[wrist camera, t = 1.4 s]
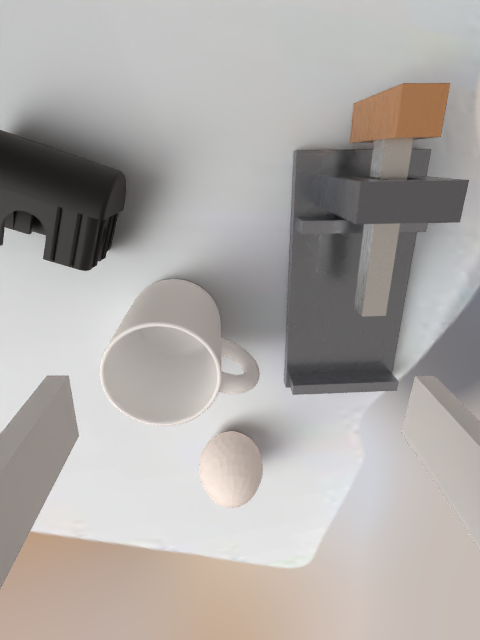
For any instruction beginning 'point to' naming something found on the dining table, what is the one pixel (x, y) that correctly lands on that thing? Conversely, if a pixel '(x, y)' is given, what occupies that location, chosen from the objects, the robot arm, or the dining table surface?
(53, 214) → the end cap
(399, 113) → the lever
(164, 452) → the dining table surface
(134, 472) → the dining table surface
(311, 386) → the dock
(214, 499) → the egg
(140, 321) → the mug
